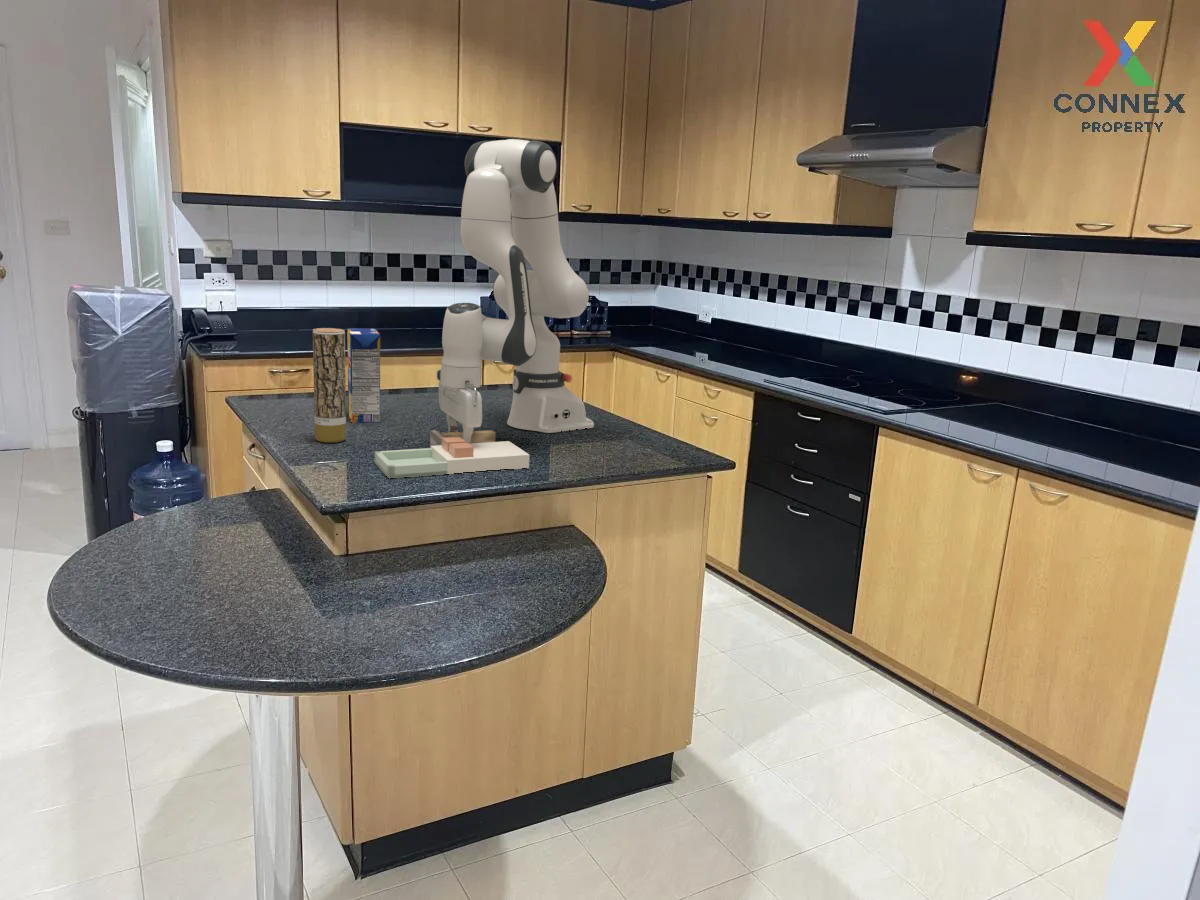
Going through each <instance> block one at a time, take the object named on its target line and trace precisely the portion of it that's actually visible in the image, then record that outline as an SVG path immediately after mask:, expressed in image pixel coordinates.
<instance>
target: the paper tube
mask: <svg viewBox="0 0 1200 900" xmlns="http://www.w3.org/2000/svg"><path fill="white" fill-rule="evenodd" d="M312 354H313V355H312V360H313V362H312V365H313V367H312V368H313V404H314V405H313V409H314V411H313V414H314V417H313V418H314V420H313V421H314V439H315V440H316V441H317V442H320V443H324V444H335V443H341V442H343V441H345V440H346V438H347V415H346V414H347V406H346V404H347V403H346V401H347V399H346V396H347V395H346V394H347V392H346V389H347V388H346V331H345V329H342V328H335V327H334V328H333V327H319V328H313V329H312Z"/></svg>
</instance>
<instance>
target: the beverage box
mask: <svg viewBox="0 0 1200 900" xmlns="http://www.w3.org/2000/svg"><path fill="white" fill-rule="evenodd" d="M346 330H347V407H348V409H347V414H348V417H349V420H350V419H351V420H350V422H352V423H351V424H366V423H365V422H380V423H381V333H380V332H379V331H378V330H377V329H376V328H366V327H365V328H364V327H363V328H359V327H357V328H355V327H348V328H346Z"/></svg>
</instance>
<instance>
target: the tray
mask: <svg viewBox="0 0 1200 900" xmlns="http://www.w3.org/2000/svg"><path fill="white" fill-rule="evenodd" d="M373 452H374V457H373V458H374V459H373V460H374V464H375V465H376V467H377V468H378V469H379V470H380V471H381V472H382V473H383V475H384V476H387V477H388V478H389V479H388V478H387V477H386V478H387V479H388V480H391V479H390V478H396V479H405V478H404V477H410V478H420V477H421V476H423V477H433V476H432V475H436V476H445V475H444V474H447V468H448V463H447V462H446V461H443V462H437V461H436V460H435V459H434V458H432V449H431V448H430V447H425V448H424V447H423V448H408V449H398V450H397V449H395V450H379V451H377V450H376V451H373ZM419 476H420V477H419Z"/></svg>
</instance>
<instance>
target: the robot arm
mask: <svg viewBox="0 0 1200 900" xmlns="http://www.w3.org/2000/svg"><path fill="white" fill-rule="evenodd" d="M557 170H558V160H557V157H556V154H555V151H553V149H552V147H551V146H550V145H549V144H548V143H545V142H543V141H539V140H525V139H519V138H518V139H515V138H511V139H510V138H508V139H500V140H499V139H498V140H487V139H486V140H482V141H477V142H475V143H473V144H472V145H470V147H469V149H468V151H467V152H466V155H465V158H464V171H465V175H466V181H465V185H464V189H463V194H462V202H461V212H460V215H461V216H460V218H461V219H460V238H461V244H462V245H463V247H464V249H465V250H466V252H467V253H468V254H469V255H470V256H471V257H473V258H474V259H475V260H476V261H478V262H480V263H481V264H484V265H485V266H488V267H489V268H491V269H492V270H494V271H495V272H497V273H498V276H497V277H496V279H495V282H494V286H493V296H494V300H495V301H496V304H497V305H498V306H499V307H500V308H501V309H502V310H503V311H504V314H506V316H507V318H508V319H504V318H503V319H502V318H494V317H489V316H487V315H484V314H483V313H482V308H481V306H480V305H479V304H476V303H473V302H458V303H457V302H455V303H453V304H451V305H449V306H448V307H446V310H445V314H444V317H443V325H442V334H441V336H442V337H441V339H442V340H441V344H442V350H443V356H442V360H441V364H440V365H441V366H440V368H439V369H438V370H436V379H437V381H438V403H439V409H440V410H441V411H442V412H444V413H445V414H446V421H447V427H448V428H447V429H448V430H447V431H448V432H447V433H449V432H459V431H458V430H459V428H458V424H457V423H459V424H460V425H462V429H463V430H462V432H463V435H461V438H462V439H463V440H464V441H466V443H468V444H469V443H471V436H472V433H473V431H475V430H474V429H475V428H480V427H481V426H482V423H483V403H482V402H483V399H482V395H481V393H480V392H479V391H478V390H477V389H478V388H480V387H481V385H482V375H483V373H482V371H483V369H482V368H483V367H482V366H483V361H482V360H485V361H491V362H498V363H503V364H507V365H511V366H515V368H514V369H513V377H512V391H513V395H512V403H511V407H510V412H509V416H508V418H507V421H506V424H507V425H508V426H509V427H512V428H515V429H519V430H525V431H526V430H527V431H535V432H540V433H545V434H546V433H547V434H551V433H560V432H561V431H562V432H569V430H570V431H577V430H576V429H578V430H584V429H585V428H587V429H593V428H594V427H595V422H594V421H593V420H592V419H591V418H588V417H587V414H586V407H585V404H584V402H583V400H582V399H581V398H580V397H579V396H578V395H576V394H575V393H574V392H573V391H572V390H571V389H569V388H568V387H567V386H566V385H565V384H566V383H572V381H573V376H572V375H571V374H569V373H563V372H562V371H561V370H560V355H561V353H560V352H561V343H560V340H559V338H558V336H557V335H556V334H554V333H553V332H552V331H551V330H550V329H549V328H548V326H547V323H546V321H545V317H548V318H555V319H568V318H570V319H571V318H576V317H577V318H578V317H579V316H581V315H582V314H583V313H584V311H586V309H587V306H588V304H589V300H590V298H589V296H590V293H589V289H588V286H587V284H586V282H585V281H584V279H583V278H582V277H580V276H579V275H578V274H577V273H576V272H575V271H574V270H573V268H572V266H571V265H570V264H569V261H568V260H567V257H566V255H565V252H564V251H563V247H562V243H561V233H560V228H559V227H560V225H559V210H558V202H557V194H556V190H555V185H554V181H555V179H556V176H557ZM526 260H527V262H528V263H529V264H530V266H531V268H532V269H527V264H526ZM565 382H566V383H565ZM585 430H586V429H585ZM562 432H561V433H562Z"/></svg>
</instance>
